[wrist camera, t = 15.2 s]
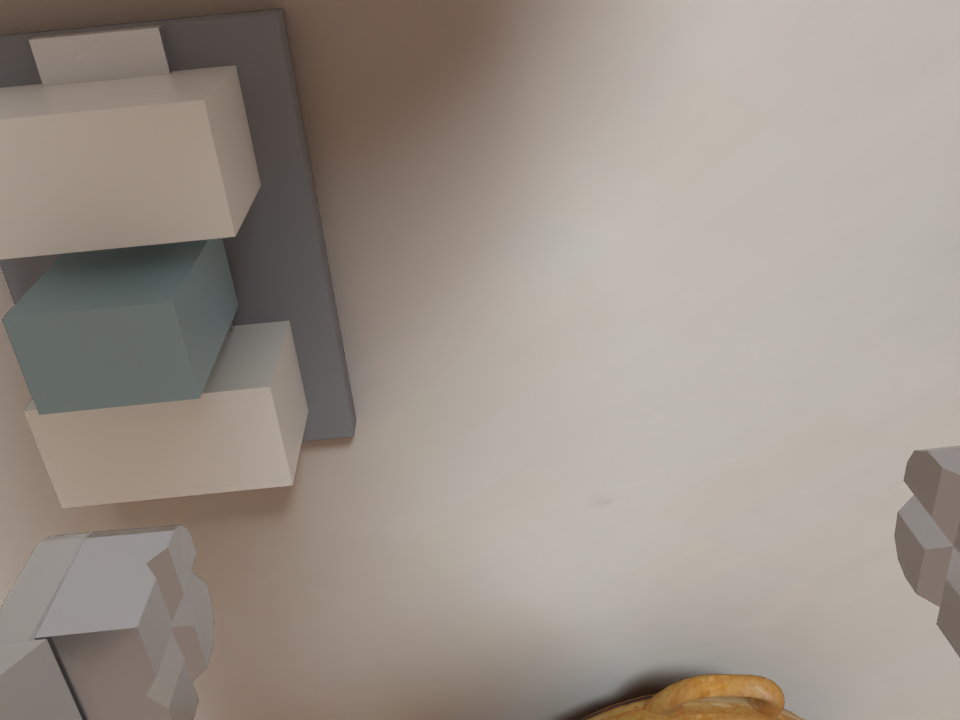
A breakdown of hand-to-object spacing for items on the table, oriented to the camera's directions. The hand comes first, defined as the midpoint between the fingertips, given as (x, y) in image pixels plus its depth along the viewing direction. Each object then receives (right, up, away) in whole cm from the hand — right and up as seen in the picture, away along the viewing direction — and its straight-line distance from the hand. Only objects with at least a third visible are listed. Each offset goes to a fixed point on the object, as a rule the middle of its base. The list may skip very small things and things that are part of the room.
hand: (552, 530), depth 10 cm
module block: (-15, +6, +29) cm, 33 cm away
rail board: (-15, +7, +31) cm, 35 cm away
